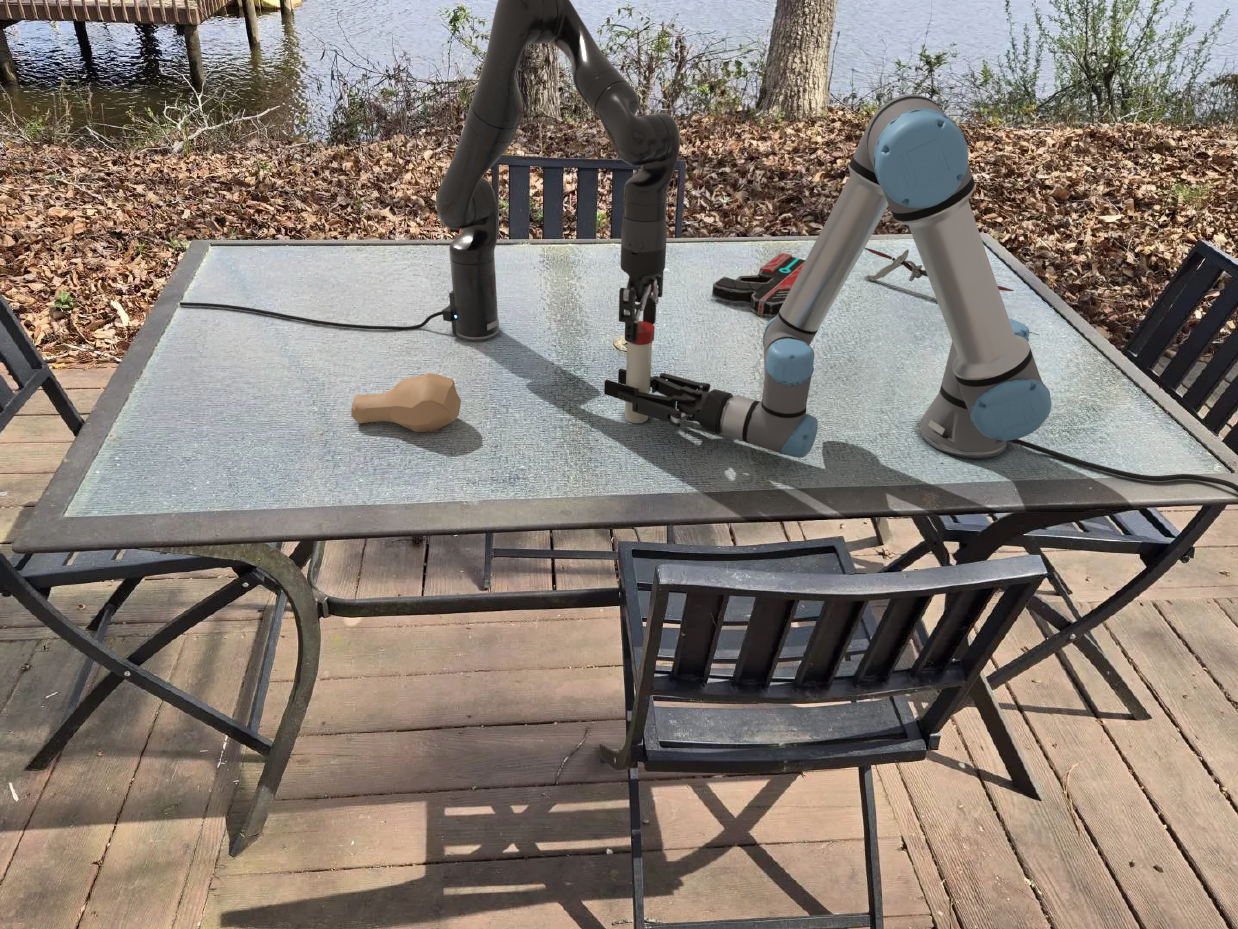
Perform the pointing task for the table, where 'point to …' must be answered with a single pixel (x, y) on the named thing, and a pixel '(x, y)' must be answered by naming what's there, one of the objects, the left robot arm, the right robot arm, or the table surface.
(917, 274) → the bow
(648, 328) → the lid
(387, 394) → the squash
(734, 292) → the gun
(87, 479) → the table surface
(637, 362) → the slim white bottle
